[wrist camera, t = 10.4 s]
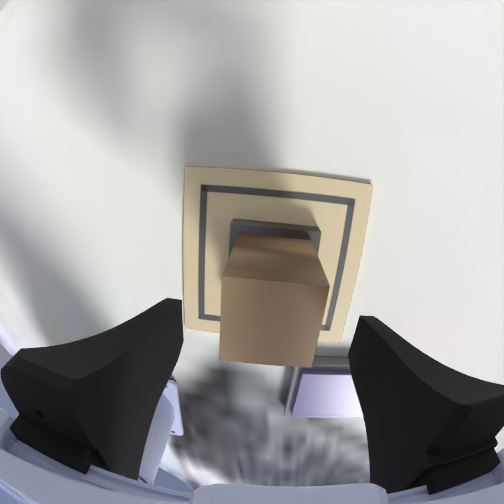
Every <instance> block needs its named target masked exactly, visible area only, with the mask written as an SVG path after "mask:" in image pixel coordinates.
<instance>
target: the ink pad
mask: <svg viewBox="0 0 504 504" xmlns="http://www.w3.org/2000/svg"><path fill="white" fill-rule="evenodd" d="M284 416H291V417H317V418H327V417H361V416H363V413H362V410H361V406H360V403H359V400H358V396H357V393H356V390H355V387H354V383H353V380H352V376H351V371H350V365H349V358H348V357H321V356H314V359H313V362H312V366H311V368H309V367H293V370H292V375H291V379H290V384H289V388H288V392H287V397H286V401H285V405H284Z"/></svg>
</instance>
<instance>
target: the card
mask: <svg viewBox="0 0 504 504" xmlns="http://www.w3.org/2000/svg"><path fill="white" fill-rule="evenodd" d="M372 190H373V185H371V184H365V183H359V182H352V181H345V180H338V179H331V178H323V177H315V176H307V175H298V174H289V173H279V172H268V171H257V170H244V169H229V168H212V167H188V166H186V167H185V184H184V226H183V268H184V310H185V329H192V330H199V331H206V332H214V333H220V312H221V284H222V274H223V272H224V269H225V267H226V264H227V262H228V257H229V239H230V223H231V221H232V220H233V219H245V220H256V221H266V222H277V223H287V224H297V225H306V226H316V227H319V229H320V231H321V239H320V246H319V252H318V257H319V260H320V262H321V265H322V267H323V270H324V272H325V275H326V277H327V280H328V282H329V285H330V289H329V293H328V298H327V303H326V308H325V312H324V317H323V321H322V326H321V330H320V334H319V338H318V342H335V343H340V342H341V338H342V335H343V331H344V327H345V324H346V320H347V316H348V312H349V308H350V304H351V300H352V296H353V292H354V287H355V283H356V279H357V274H358V269H359V265H360V260H361V255H362V250H363V245H364V239H365V234H366V228H367V223H368V216H369V210H370V204H371V197H372Z"/></svg>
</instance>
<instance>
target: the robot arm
mask: <svg viewBox="0 0 504 504" xmlns="http://www.w3.org/2000/svg"><path fill="white" fill-rule="evenodd" d="M182 344H183V322H182V300H178V299H171V298H166V299H164V300H162V301H161V302H159V303H157V304H156V305H154V306H152V307H151V308H149V309H147V310H146V311H144V312H142V313H141V314H139V315H137V316H135V317H134V318H132V319H130V320H128V321H126V322H124V323H122V324H120V325H118V326H116V327H114V328H112V329H110V330H107V331H105V332H102V333H100V334H97V335H95V336H92V337H88V338H85V339H81V340H78V341H75V342H71V343H66V344H61V345H55V346H49V347H39V348H23V349H20V350H19V351H18V352H17V353H16V354H15V355H14V356H13V357H12V358H11V359H10V360H9V361H8V362H7V363H6V365H5V366H4V367H3V368H2V369H1V379H2V383H3V385H4V387H5V389H6V391H7V393H8V395H9V397H10V399H11V400H12V402H13V404H14V406H15V407H16V409H17V411H18V412H19V416H18V417H17V418H16V420H15V419H14V418H13V417H12V416H11V415H10V414H9V413H8V412H6V411H5V410H3V409H1V408H0V487H1V488H2V489H3V490H4V491H6V492H7V493H9V494H10V495H11V496H13V497H14V498H15V499H17V500H18V502H17V504H504V448H503V449H502V450H500V451H499V452H498V453H496V451H495V449H494V447H496V446H497V444H498V442H497V440H496V438H495V436H496V435H497V434H498V432H499V431H500V430H501V429H502V428H503V426H504V385H501V384H496V383H491V382H487V381H483V380H480V379H477V378H474V377H471V376H468V375H466V374H463V373H460V372H458V371H456V370H454V369H451V368H449V367H447V366H445V365H443V364H441V363H440V362H438V361H436V360H434V359H433V358H431V357H429V356H428V355H426V354H424V353H423V352H421V351H420V350H419V349H417V348H416V347H414V346H413V345H411V344H410V343H409V342H407V341H406V340H405V339H403V338H402V337H401V336H399V335H398V334H397V333H396V332H394V331H393V330H392V329H390V328H389V327H388V326H387V325H385V324H384V323H383V322H381V321H380V320H379V319H377V318H375V317H374V316H360V317H359V320H358V324H357V327H356V331H355V334H354V337H353V341H352V344H351V347H350V351H349V354H348V358H349V365H350V371H351V376H352V380H353V383H354V387H355V390H356V393H357V396H358V400H359V403H360V406H361V410H362V413H363V417H364V421H365V426H366V433H367V440H368V450H369V461H370V483H367V484H344V485H331V486H310V487H280V486H258V485H245V484H213V485H208V486H203V487H199V488H197V489H195V490H194V492H193V493H192V494H190V493H185V492H180V491H175V490H171V489H166V488H162V487H158V486H154V485H153V483H154V479H155V476H156V473H157V470H158V467H159V464H160V461H161V458H162V455H163V452H164V449H165V446H166V443H167V440H168V437H169V434H174V435H179V436H180V435H183V432H184V430H183V424H182V417H181V410H180V403H179V395H178V387H177V383H176V382H175V381H173V380H169V378H170V376H171V374H172V372H173V370H174V367H175V365H176V363H177V361H178V358H179V355H180V351H181V348H182Z"/></svg>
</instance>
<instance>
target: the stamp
mask: <svg viewBox="0 0 504 504" xmlns="http://www.w3.org/2000/svg"><path fill="white" fill-rule="evenodd" d="M320 239H321V231H320V229H319V227H316V226H306V225H297V224H287V223H277V222H266V221H256V220H245V219H233V220H232V221H231V223H230V239H229V257H228V262H227V264H226V267H225V269H224V272H223V274H222V284H221V312H220V348H219V360H226V361H235V362H244V363H254V364H264V365H277V366H291V367H309V368H311V366H312V362H313V359H314V355H315V351H316V347H317V343H318V338H319V334H320V330H321V326H322V321H323V317H324V312H325V308H326V303H327V298H328V293H329V289H330V285H329V282H328V280H327V277H326V275H325V272H324V270H323V267H322V265H321V262H320V260H319V257H318V252H319V246H320Z"/></svg>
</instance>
